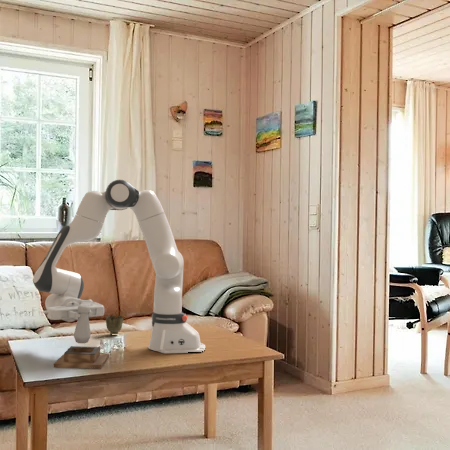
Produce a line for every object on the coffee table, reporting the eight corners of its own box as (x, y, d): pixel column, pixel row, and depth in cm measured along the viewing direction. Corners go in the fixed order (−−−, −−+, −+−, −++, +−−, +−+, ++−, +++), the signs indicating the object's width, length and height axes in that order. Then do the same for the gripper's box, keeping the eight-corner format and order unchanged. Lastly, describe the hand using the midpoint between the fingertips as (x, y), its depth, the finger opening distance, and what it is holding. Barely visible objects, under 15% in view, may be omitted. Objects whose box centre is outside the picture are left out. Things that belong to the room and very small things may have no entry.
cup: (124, 333, 255) (125, 315, 255) (120, 337, 248) (120, 318, 247) (108, 333, 256) (108, 314, 255) (102, 336, 248) (103, 317, 248)
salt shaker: (79, 345, 202) (81, 308, 201) (70, 341, 205) (72, 304, 204) (93, 342, 206) (95, 306, 205) (84, 338, 210) (86, 302, 209)
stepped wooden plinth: (108, 356, 214) (109, 345, 214) (101, 368, 198) (101, 356, 198) (64, 355, 213) (65, 344, 213) (53, 367, 197) (53, 354, 197)
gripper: (41, 302, 209) (55, 308, 198) (94, 299, 222) (111, 304, 211) (41, 320, 209) (55, 326, 198) (94, 315, 222) (110, 321, 211)
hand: (84, 315), depth 205 cm, fingers closed on salt shaker, 3 cm apart
